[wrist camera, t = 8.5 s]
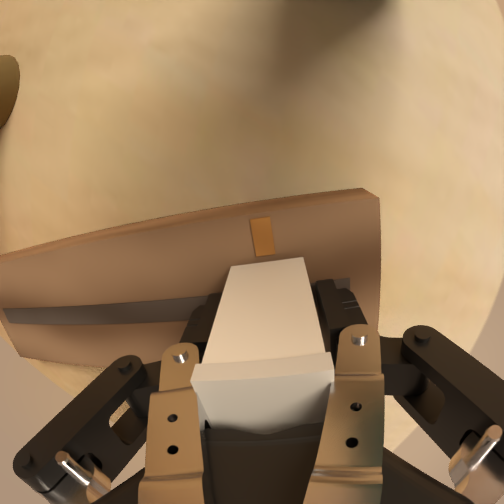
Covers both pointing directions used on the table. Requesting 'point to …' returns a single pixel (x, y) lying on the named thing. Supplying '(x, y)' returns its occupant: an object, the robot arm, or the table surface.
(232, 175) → the table surface
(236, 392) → the fader tab
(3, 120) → the cork
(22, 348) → the console track
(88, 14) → the table surface
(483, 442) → the robot arm
